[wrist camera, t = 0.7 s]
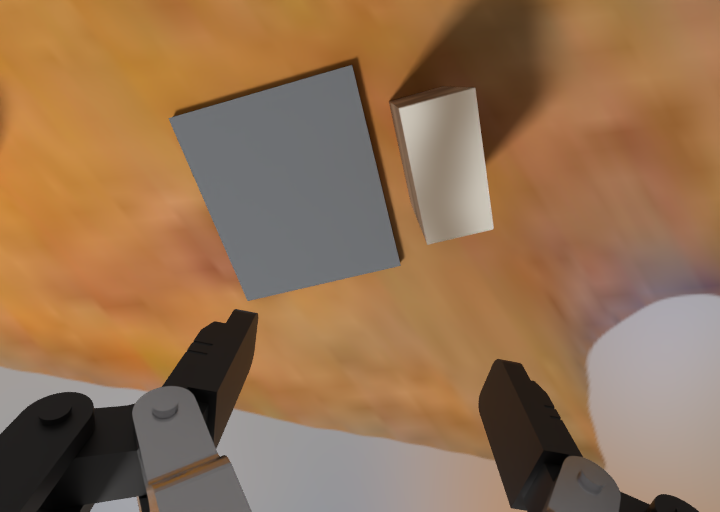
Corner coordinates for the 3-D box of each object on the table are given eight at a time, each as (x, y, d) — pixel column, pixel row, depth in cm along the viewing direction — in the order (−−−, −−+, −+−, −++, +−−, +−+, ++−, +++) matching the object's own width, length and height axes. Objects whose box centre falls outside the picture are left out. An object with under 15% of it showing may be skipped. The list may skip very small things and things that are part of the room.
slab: (442, 86, 28) (475, 87, 20) (459, 190, 31) (493, 229, 23) (388, 101, 29) (399, 108, 21) (410, 203, 32) (427, 244, 24)
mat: (352, 65, 28) (351, 64, 27) (400, 262, 34) (400, 265, 33) (172, 117, 29) (168, 118, 29) (249, 297, 36) (247, 300, 35)
